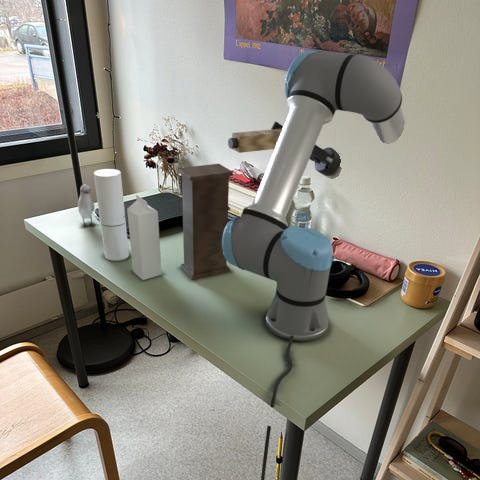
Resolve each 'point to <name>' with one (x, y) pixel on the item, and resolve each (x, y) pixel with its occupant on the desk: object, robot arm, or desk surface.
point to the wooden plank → (254, 140)
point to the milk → (144, 239)
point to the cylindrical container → (112, 213)
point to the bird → (85, 203)
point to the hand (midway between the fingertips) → (278, 128)
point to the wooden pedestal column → (204, 219)
